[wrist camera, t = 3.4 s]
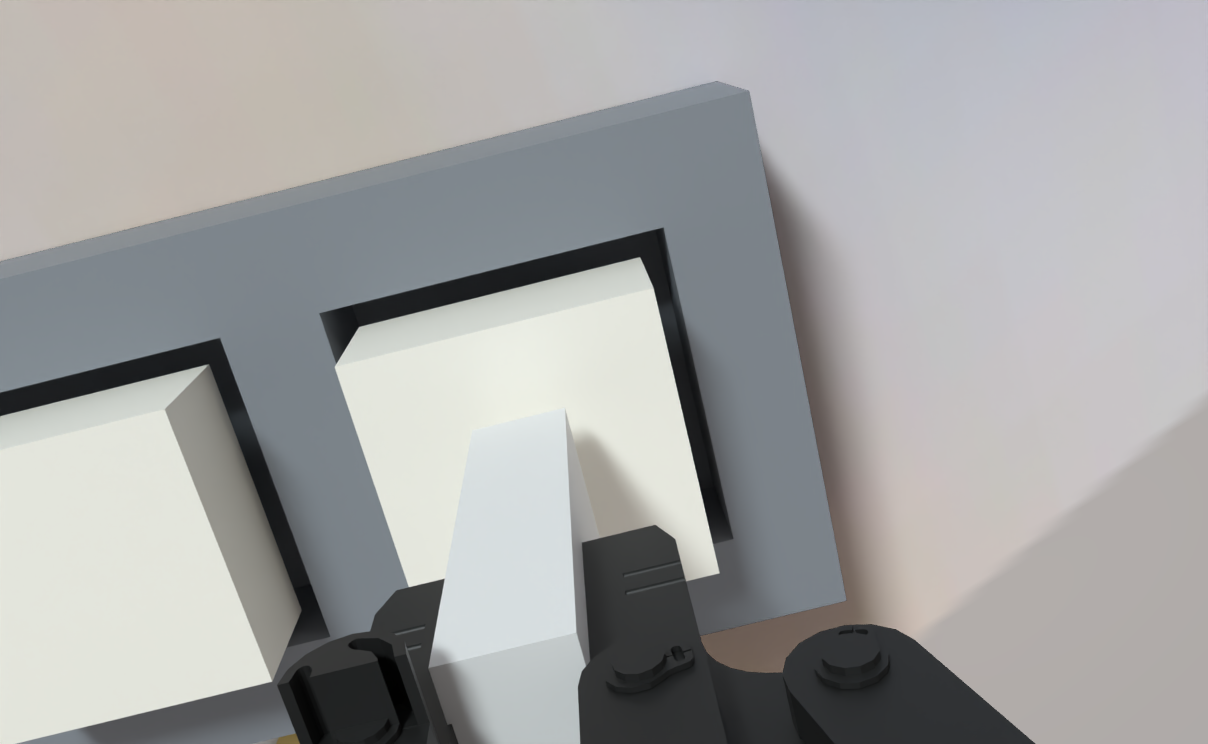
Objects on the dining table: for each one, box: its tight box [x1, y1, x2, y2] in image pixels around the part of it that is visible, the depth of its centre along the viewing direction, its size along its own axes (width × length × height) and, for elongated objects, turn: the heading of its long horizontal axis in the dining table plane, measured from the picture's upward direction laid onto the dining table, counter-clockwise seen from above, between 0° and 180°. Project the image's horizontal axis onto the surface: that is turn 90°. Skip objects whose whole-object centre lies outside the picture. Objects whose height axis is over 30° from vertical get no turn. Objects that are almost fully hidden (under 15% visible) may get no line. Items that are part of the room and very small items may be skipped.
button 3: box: [335, 257, 719, 587], centre depth 19 cm, size 5×5×2 cm
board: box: [0, 81, 847, 744], centre depth 21 cm, size 26×10×4 cm, turn 104°
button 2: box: [0, 364, 302, 744], centre depth 19 cm, size 5×5×2 cm
